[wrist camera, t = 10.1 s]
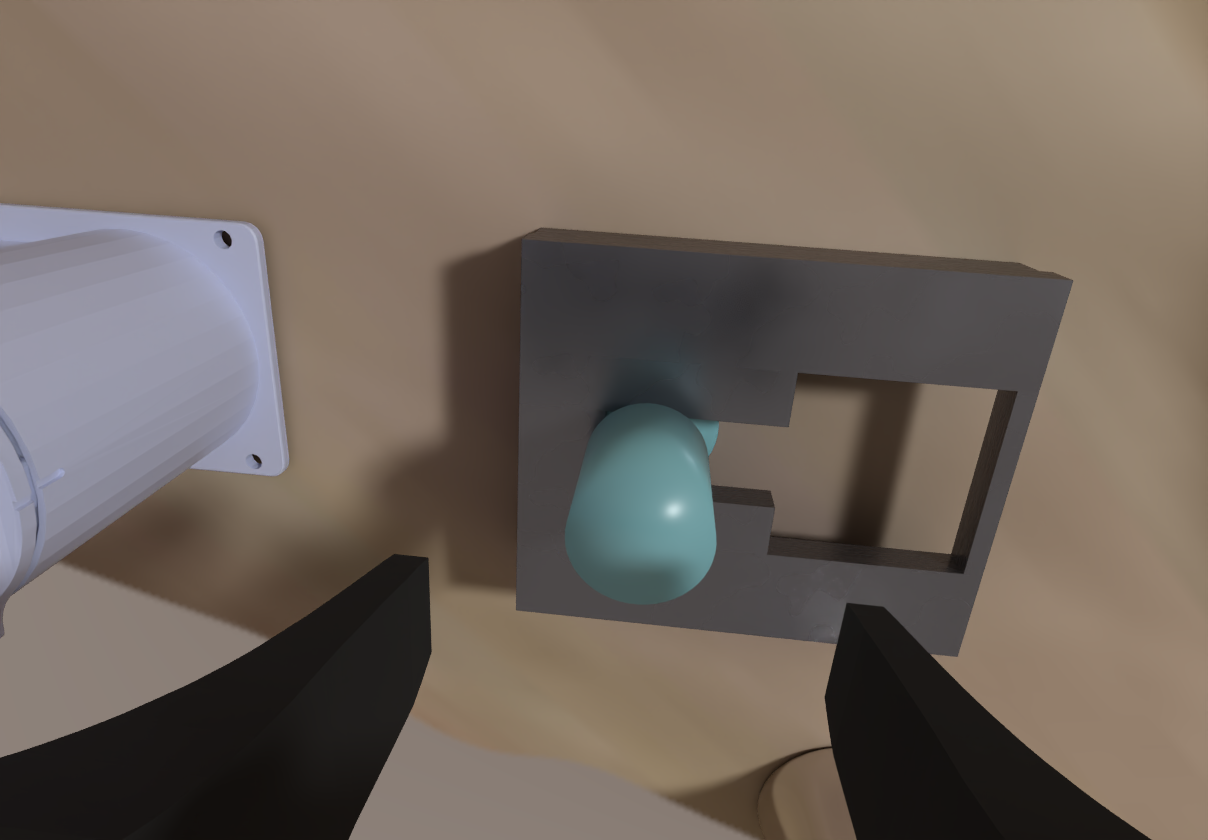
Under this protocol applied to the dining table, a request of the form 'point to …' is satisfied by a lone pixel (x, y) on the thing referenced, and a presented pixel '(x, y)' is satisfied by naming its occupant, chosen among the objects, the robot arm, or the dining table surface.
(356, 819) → the robot arm
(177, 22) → the dining table surface
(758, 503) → the keyhole plate
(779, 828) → the beer glass
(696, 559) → the peg
